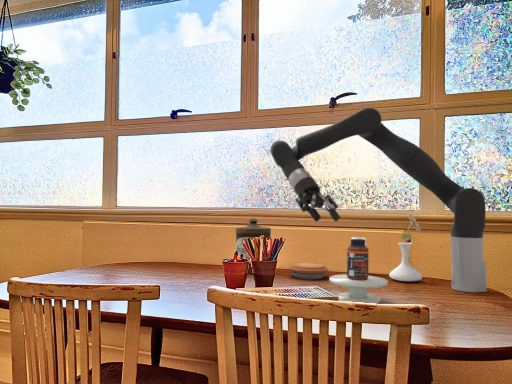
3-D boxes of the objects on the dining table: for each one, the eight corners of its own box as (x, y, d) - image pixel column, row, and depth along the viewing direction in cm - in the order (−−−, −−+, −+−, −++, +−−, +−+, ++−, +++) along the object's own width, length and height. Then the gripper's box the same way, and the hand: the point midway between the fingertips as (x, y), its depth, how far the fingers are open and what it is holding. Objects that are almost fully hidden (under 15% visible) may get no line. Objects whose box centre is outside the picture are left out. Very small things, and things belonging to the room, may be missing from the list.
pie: (293, 281, 140) (293, 267, 141) (284, 274, 156) (284, 261, 156) (334, 280, 142) (334, 266, 143) (321, 273, 158) (321, 261, 158)
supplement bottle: (353, 281, 107) (353, 240, 108) (343, 277, 113) (343, 238, 113) (372, 280, 109) (372, 239, 109) (361, 276, 114) (361, 238, 115)
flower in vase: (410, 284, 135) (410, 212, 136) (382, 279, 144) (382, 212, 145) (430, 281, 142) (430, 213, 144) (403, 276, 152) (402, 212, 153)
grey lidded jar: (230, 273, 155) (231, 218, 156) (240, 268, 170) (241, 217, 171) (267, 275, 152) (267, 218, 153) (273, 269, 166) (274, 218, 167)
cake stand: (382, 295, 117) (382, 275, 117) (392, 308, 101) (392, 285, 101) (328, 293, 119) (328, 273, 120) (329, 305, 104) (330, 282, 104)
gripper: (292, 174, 124) (318, 210, 114) (324, 177, 132) (350, 211, 123) (282, 191, 128) (305, 228, 118) (313, 193, 136) (337, 227, 127)
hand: (328, 219), depth 120 cm, fingers open, 8 cm apart
